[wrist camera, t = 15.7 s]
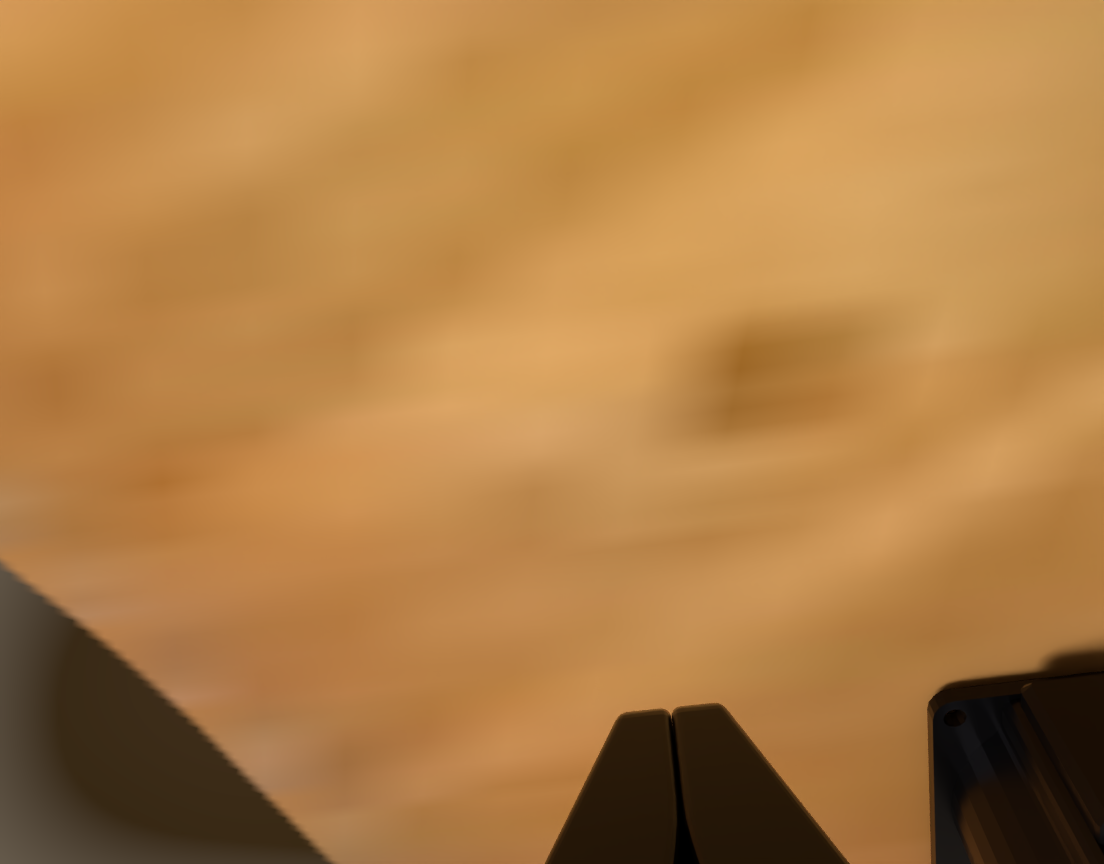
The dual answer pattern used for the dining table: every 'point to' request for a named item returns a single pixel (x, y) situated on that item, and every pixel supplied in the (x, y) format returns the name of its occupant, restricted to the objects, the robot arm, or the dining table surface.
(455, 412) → the dining table surface
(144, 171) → the dining table surface
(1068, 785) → the robot arm
